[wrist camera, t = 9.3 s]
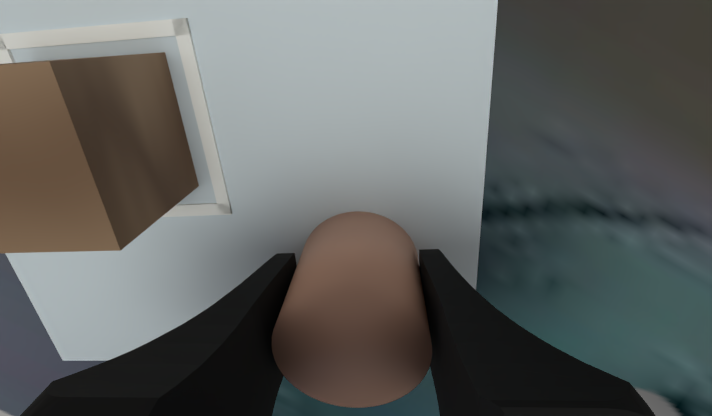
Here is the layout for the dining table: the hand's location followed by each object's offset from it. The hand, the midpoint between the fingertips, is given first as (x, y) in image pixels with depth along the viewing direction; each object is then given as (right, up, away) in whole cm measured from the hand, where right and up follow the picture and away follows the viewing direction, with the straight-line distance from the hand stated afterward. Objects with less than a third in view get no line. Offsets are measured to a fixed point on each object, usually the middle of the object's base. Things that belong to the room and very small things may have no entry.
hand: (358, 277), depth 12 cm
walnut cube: (-7, +5, -1) cm, 9 cm away
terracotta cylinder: (0, 0, +1) cm, 1 cm away
